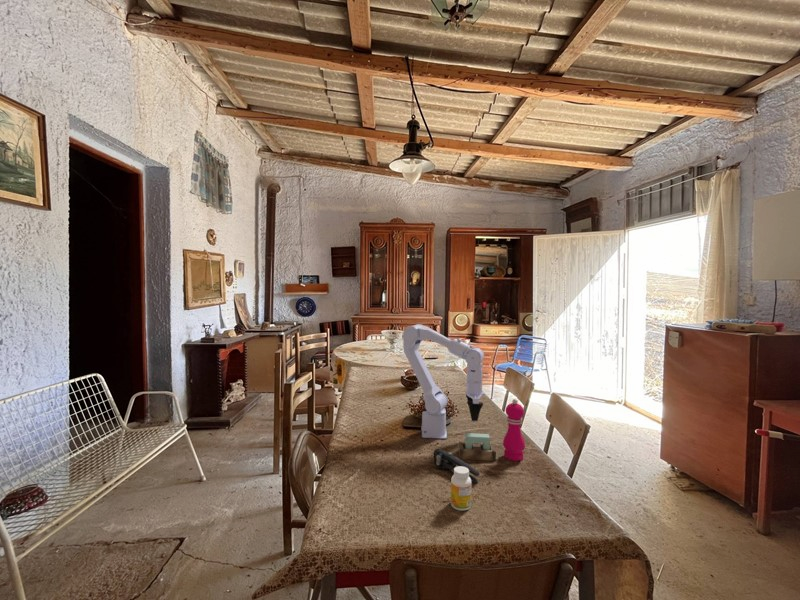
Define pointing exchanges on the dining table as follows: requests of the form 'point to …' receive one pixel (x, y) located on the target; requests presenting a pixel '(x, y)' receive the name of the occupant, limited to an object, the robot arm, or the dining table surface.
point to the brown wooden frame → (477, 452)
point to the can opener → (452, 463)
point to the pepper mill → (514, 432)
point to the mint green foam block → (477, 440)
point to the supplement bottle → (461, 489)
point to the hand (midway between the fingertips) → (473, 416)
